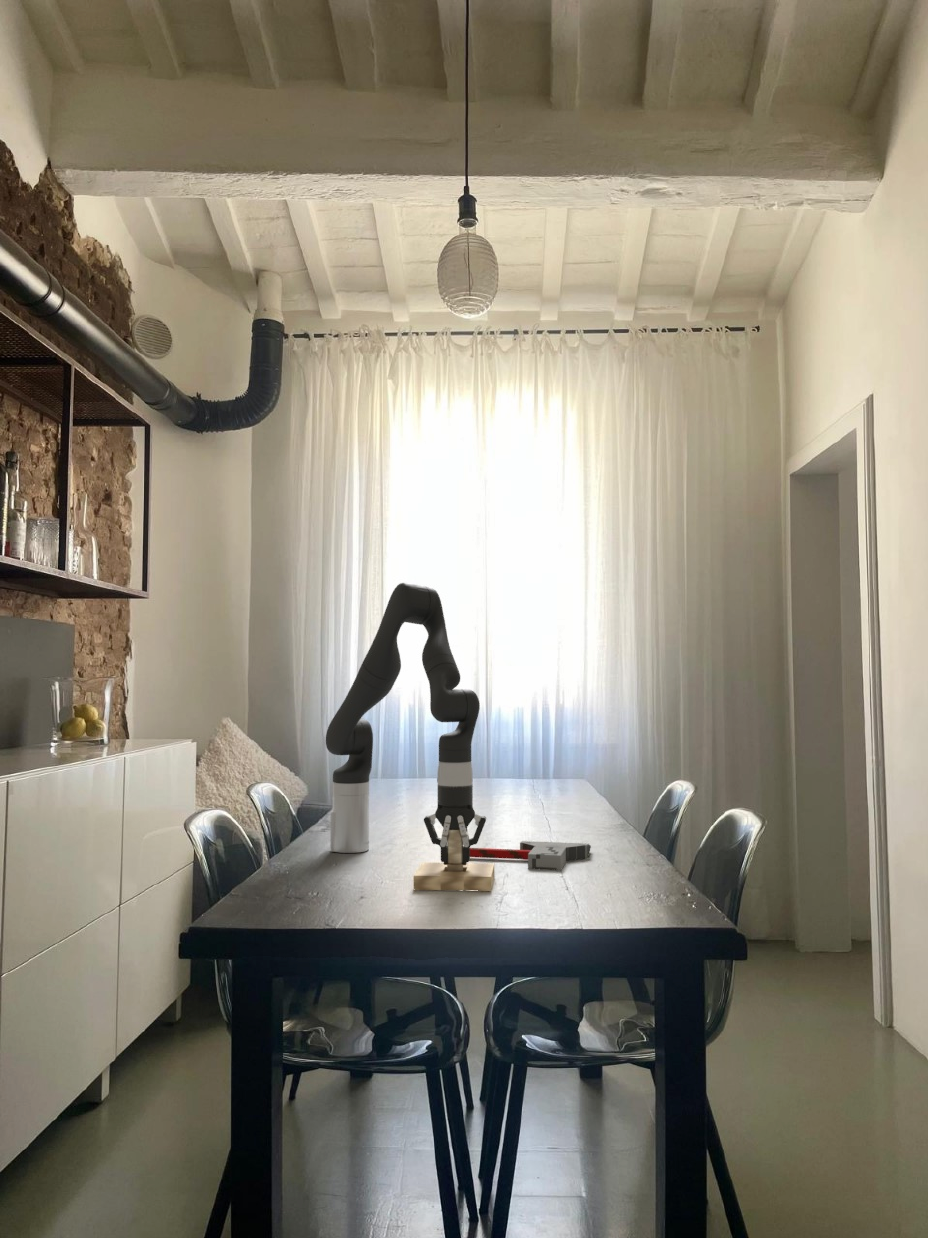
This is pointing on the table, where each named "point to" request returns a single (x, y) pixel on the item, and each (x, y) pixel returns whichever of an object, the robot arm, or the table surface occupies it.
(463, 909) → the table surface
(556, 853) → the toy hammer
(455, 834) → the peg
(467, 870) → the board
